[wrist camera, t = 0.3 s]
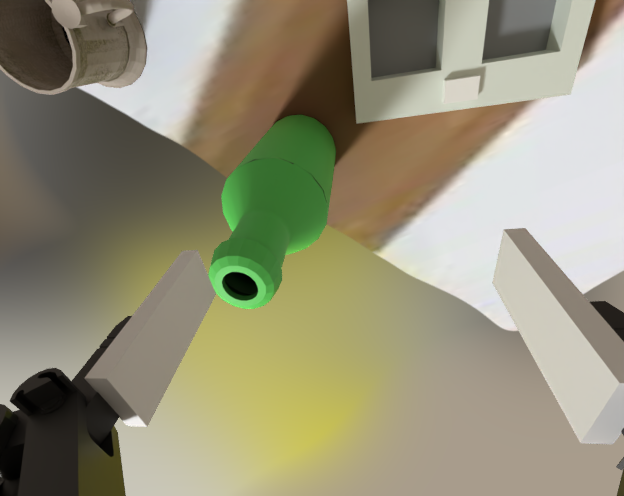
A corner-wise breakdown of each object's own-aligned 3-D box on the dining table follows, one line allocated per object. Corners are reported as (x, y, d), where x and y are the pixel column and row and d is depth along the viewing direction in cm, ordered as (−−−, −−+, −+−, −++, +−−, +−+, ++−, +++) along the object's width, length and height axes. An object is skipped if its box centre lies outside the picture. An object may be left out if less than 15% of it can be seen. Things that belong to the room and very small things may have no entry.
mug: (91, 96, 38) (-2, 119, 28) (33, -7, 32) (-106, -23, 23) (199, 64, 34) (137, 77, 25) (153, -55, 29) (52, -99, 19)
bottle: (254, 124, 37) (134, 236, 17) (325, 103, 35) (287, 202, 15) (279, 191, 42) (208, 344, 21) (343, 176, 40) (332, 330, 19)
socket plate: (343, -48, 28) (342, -58, 25) (600, -108, 25) (636, -129, 22) (356, 117, 36) (356, 125, 33) (553, 89, 32) (575, 95, 29)
